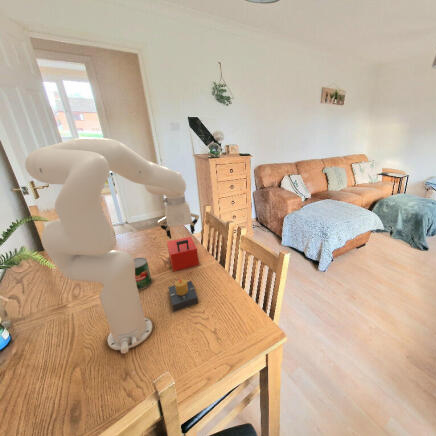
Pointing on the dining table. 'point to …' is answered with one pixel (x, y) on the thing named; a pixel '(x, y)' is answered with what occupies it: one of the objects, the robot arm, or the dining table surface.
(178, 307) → the panel
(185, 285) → the knob
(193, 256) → the open red box
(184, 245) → the red box lid
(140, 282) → the canned tomato
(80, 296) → the dining table surface
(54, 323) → the dining table surface
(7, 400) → the dining table surface
